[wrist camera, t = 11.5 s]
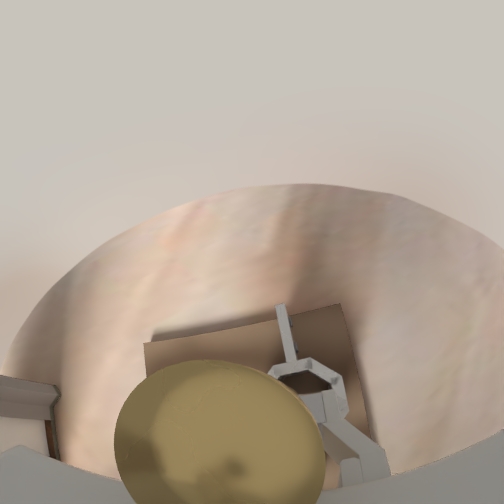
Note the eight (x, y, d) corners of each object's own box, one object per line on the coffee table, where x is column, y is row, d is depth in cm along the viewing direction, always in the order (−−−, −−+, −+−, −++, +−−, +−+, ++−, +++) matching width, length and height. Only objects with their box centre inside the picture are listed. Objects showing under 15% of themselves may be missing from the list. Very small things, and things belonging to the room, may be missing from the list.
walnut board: (379, 516, 16) (382, 521, 15) (185, 536, 17) (180, 540, 16) (339, 306, 26) (340, 303, 25) (149, 345, 28) (143, 343, 26)
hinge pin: (311, 434, 15) (319, 552, 3) (248, 434, 16) (120, 522, 3) (311, 374, 17) (325, 357, 5) (248, 376, 18) (116, 353, 5)
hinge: (352, 467, 18) (362, 485, 14) (280, 481, 19) (272, 502, 14) (320, 310, 25) (322, 293, 20) (250, 326, 25) (237, 313, 21)
